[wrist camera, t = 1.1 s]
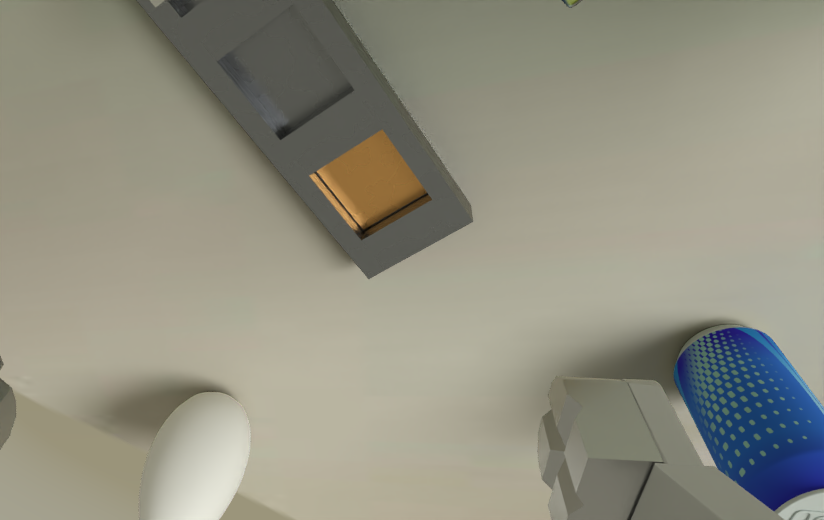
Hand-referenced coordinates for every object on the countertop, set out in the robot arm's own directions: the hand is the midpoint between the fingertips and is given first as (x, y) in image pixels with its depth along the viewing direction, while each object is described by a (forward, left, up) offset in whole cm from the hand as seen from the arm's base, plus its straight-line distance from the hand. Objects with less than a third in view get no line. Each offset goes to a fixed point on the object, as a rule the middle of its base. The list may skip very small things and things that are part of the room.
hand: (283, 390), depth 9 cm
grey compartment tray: (+7, 0, -33) cm, 34 cm away
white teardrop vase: (+32, +20, -34) cm, 51 cm away
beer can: (-8, +39, -34) cm, 52 cm away
